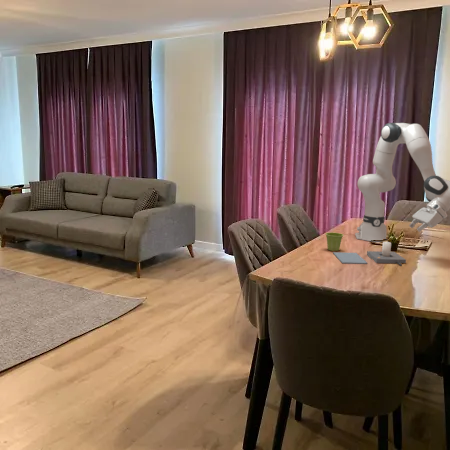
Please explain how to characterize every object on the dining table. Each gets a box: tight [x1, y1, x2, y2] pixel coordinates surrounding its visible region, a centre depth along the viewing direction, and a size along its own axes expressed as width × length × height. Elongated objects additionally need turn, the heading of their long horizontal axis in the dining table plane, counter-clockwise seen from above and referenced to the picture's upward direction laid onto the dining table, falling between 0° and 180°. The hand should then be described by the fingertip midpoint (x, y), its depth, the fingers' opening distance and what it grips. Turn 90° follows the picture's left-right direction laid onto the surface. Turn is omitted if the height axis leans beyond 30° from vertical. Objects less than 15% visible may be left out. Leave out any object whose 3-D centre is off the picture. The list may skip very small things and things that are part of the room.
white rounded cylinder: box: [381, 241, 392, 257], centre depth 236 cm, size 5×5×8 cm
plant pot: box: [325, 231, 344, 252], centre depth 253 cm, size 9×9×9 cm
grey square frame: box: [366, 250, 407, 267], centre depth 234 cm, size 21×14×2 cm, turn 0°
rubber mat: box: [332, 251, 368, 265], centre depth 236 cm, size 20×12×1 cm, turn 0°
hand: (414, 228), depth 234 cm, fingers open, 8 cm apart
